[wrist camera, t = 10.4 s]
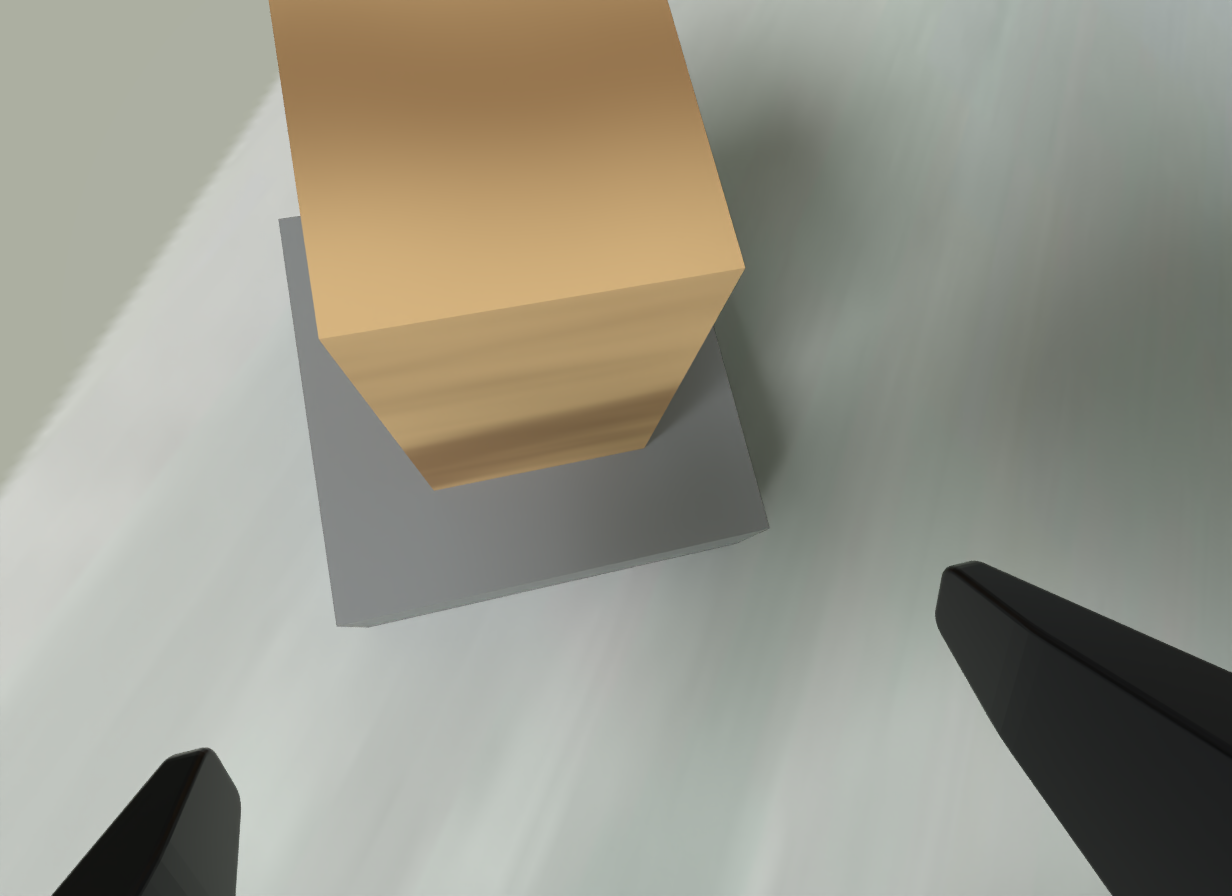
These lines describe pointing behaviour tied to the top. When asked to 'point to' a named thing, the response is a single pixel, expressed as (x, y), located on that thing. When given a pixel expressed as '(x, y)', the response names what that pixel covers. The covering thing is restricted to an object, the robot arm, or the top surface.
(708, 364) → the gray plinth
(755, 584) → the top surface
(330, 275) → the caramel block
